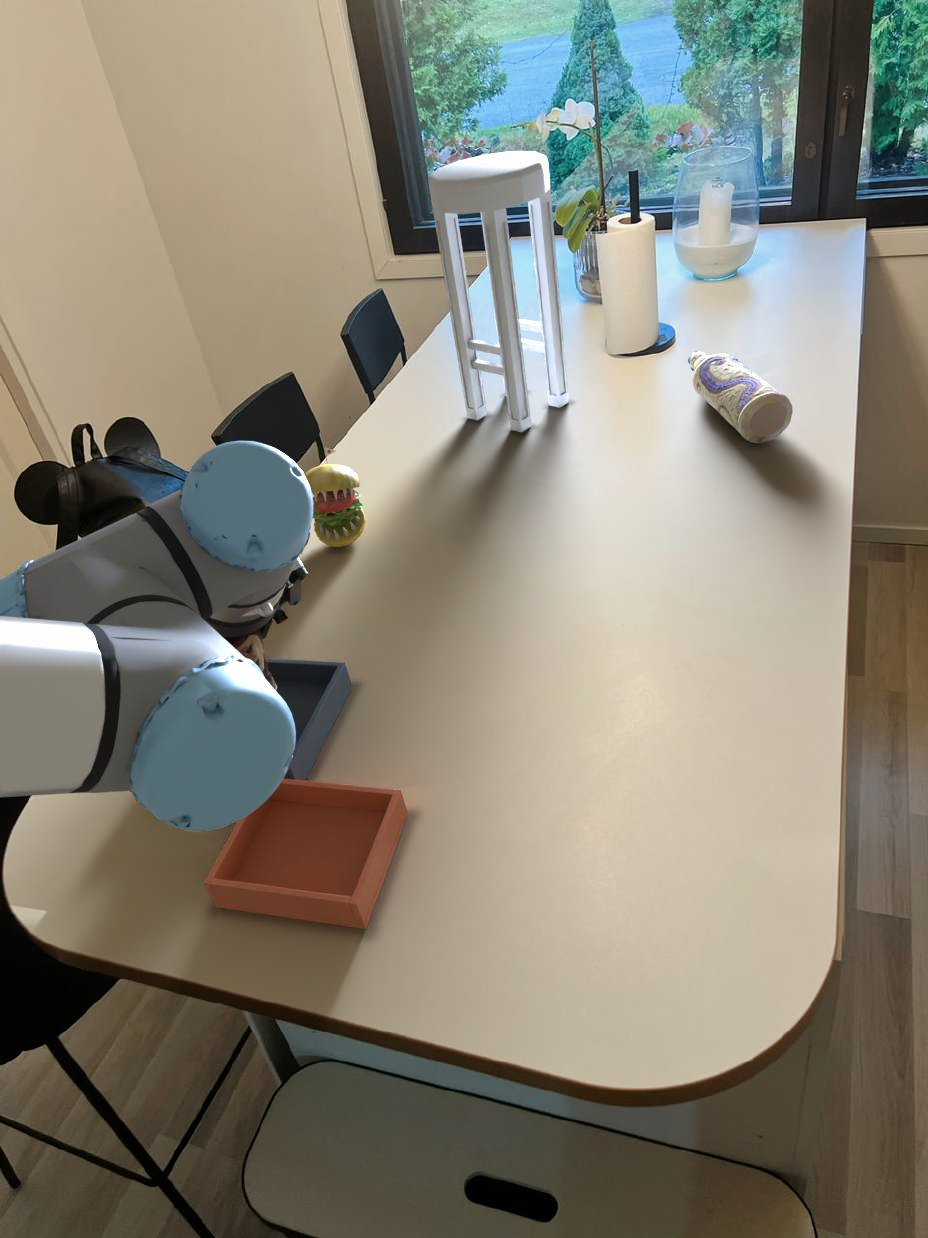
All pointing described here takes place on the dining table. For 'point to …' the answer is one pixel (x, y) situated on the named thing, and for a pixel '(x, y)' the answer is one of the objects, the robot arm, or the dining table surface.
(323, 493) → the hamburger
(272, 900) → the terracotta tray
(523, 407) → the stool
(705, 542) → the dining table surface
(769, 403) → the decorative bottle
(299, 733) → the slate tray
